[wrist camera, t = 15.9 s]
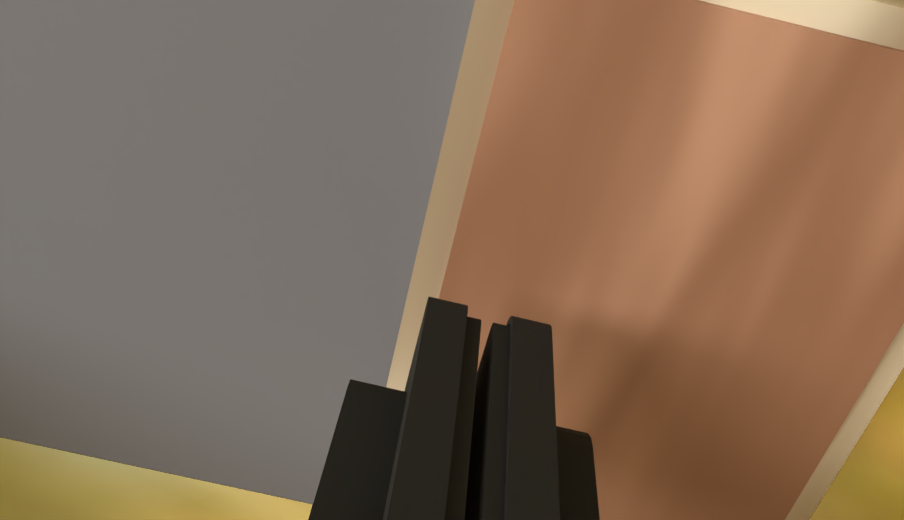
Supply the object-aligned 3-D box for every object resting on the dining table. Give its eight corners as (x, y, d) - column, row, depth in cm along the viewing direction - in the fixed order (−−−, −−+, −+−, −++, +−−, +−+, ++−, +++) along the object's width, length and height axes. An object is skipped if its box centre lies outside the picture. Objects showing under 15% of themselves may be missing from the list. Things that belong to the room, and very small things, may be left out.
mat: (1035, -155, 13) (1057, -152, 12) (666, 560, 21) (670, 581, 20) (-46, -433, 12) (-72, -442, 11) (9, 419, 20) (-5, 436, 19)
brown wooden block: (501, -116, 13) (1003, 9, 13) (369, 457, 19) (715, 533, 19) (495, -91, 11) (1104, 59, 11) (347, 553, 17) (741, 636, 17)
